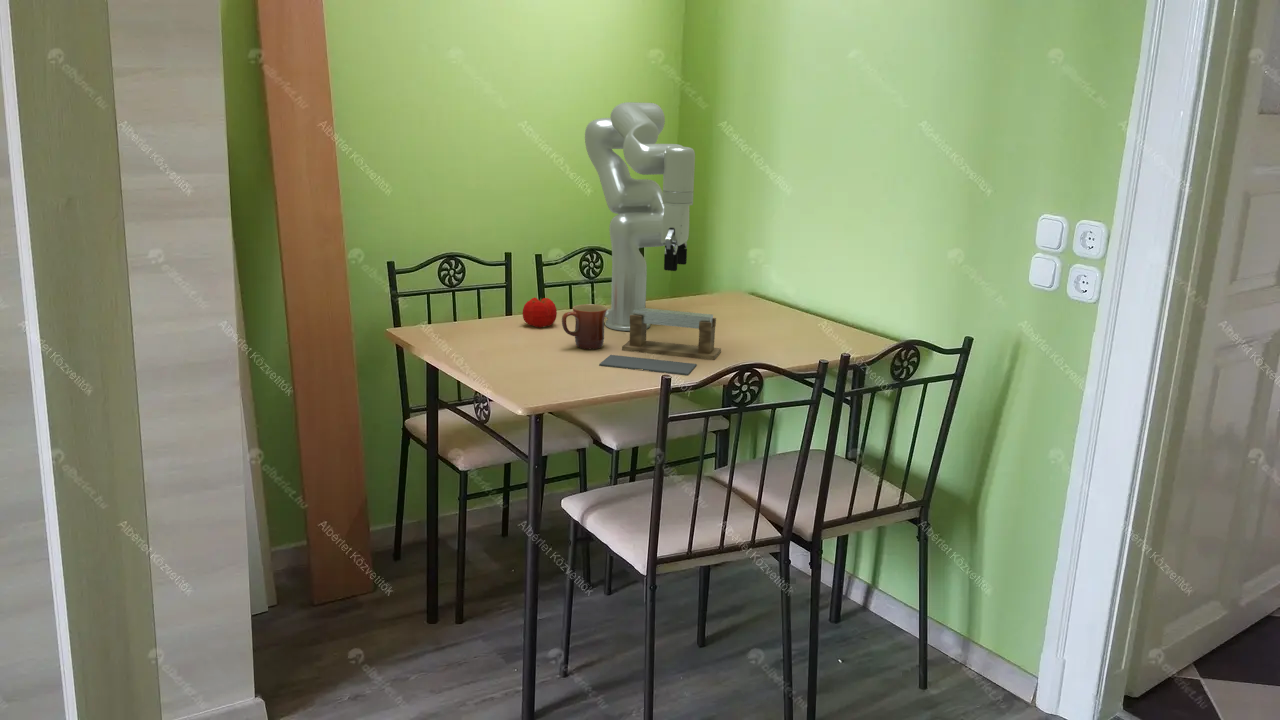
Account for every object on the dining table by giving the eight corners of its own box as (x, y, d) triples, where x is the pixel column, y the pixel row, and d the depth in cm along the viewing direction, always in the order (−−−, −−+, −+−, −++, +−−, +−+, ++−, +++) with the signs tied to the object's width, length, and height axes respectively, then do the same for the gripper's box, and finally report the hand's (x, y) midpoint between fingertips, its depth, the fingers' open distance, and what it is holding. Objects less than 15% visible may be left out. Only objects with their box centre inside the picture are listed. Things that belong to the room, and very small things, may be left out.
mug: (597, 341, 263) (598, 303, 260) (612, 349, 256) (613, 310, 253) (555, 345, 258) (555, 306, 255) (569, 353, 250) (569, 314, 247)
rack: (622, 350, 255) (622, 315, 253) (631, 342, 262) (632, 309, 260) (714, 359, 249) (716, 324, 246) (720, 352, 256) (722, 317, 254)
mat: (599, 365, 241) (599, 363, 241) (610, 356, 249) (610, 354, 249) (688, 375, 235) (688, 373, 235) (696, 365, 244) (696, 363, 243)
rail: (633, 322, 255) (633, 310, 254) (636, 319, 258) (636, 307, 257) (709, 329, 250) (710, 317, 249) (712, 326, 253) (713, 314, 252)
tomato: (551, 321, 283) (552, 295, 281) (559, 328, 275) (559, 302, 273) (519, 322, 280) (519, 296, 278) (525, 330, 272) (525, 303, 270)
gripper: (671, 194, 254) (669, 260, 258) (653, 200, 238) (651, 271, 242) (700, 195, 252) (697, 262, 257) (684, 202, 236) (681, 274, 240)
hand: (675, 267), depth 249 cm, fingers open, 9 cm apart
